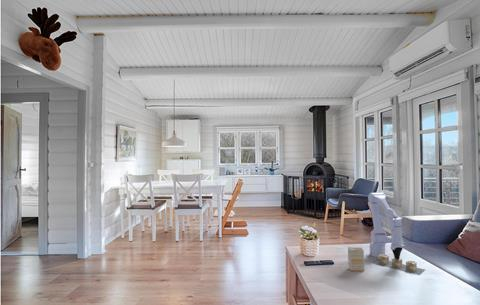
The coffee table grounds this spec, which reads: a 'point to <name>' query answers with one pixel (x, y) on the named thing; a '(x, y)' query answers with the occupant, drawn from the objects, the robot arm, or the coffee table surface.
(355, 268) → the supplement box
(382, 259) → the two pip block
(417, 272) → the slate mat
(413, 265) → the three pip block
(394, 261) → the plain block
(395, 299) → the coffee table surface
